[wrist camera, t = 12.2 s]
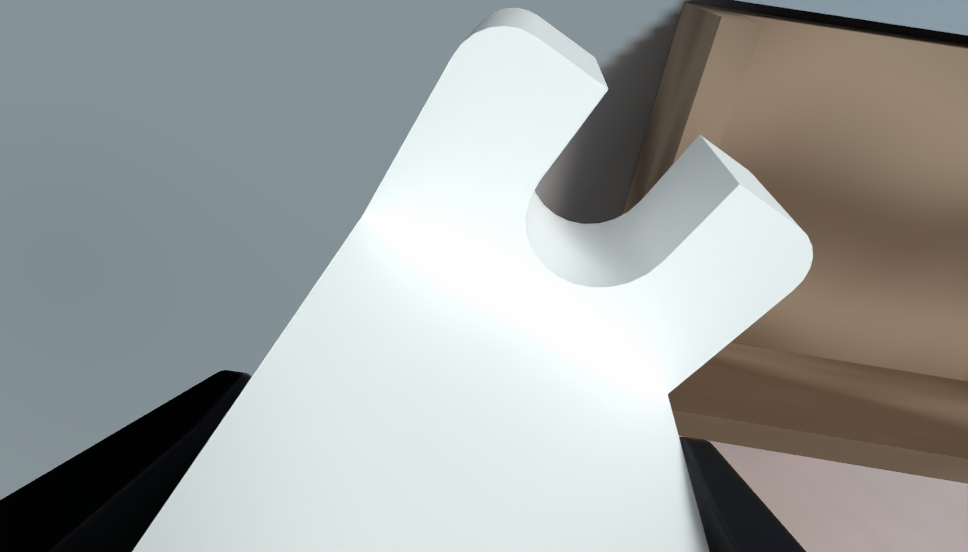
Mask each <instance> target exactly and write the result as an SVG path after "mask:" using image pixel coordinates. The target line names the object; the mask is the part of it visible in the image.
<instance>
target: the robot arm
mask: <svg viewBox="0 0 968 552" xmlns="http://www.w3.org/2000/svg"><path fill="white" fill-rule="evenodd" d="M250 379H251V376H250V375H249V374H247V373H242V372H234V371H228V370H224V371H220V372H218V373H216V374H214V375H212V376H211V377H209V378H207V379H206V380H204V381H202V382H201V383H199V384H197V385H195V386H194V387H192V388H190V389H189V390H187V391H185V392H184V393H182V394H180V395H179V396H177V397H175V398H173V399H172V400H170V401H168V402H167V403H165V404H163V405H161V406H160V407H158V408H156V409H155V410H153V411H151V412H149V413H148V414H146V415H144V416H143V417H141V418H139V419H138V420H136V421H134V422H132V423H131V424H129V425H127V426H126V427H124V428H122V429H121V430H119V431H117V432H115V433H114V434H112V435H110V436H109V437H107V438H105V439H104V440H102V441H100V442H99V443H97V444H95V445H93V446H92V447H90V448H89V449H87V450H85V451H83V452H81V453H80V454H78V455H76V456H75V457H73V458H71V459H70V460H68V461H66V462H64V463H63V464H61V465H59V466H58V467H56V468H54V469H53V470H51V471H49V472H47V473H46V474H44V475H42V476H41V477H39V478H37V479H36V480H34V481H32V482H30V483H29V484H27V485H25V486H24V487H22V488H20V489H19V490H17V491H15V492H14V493H12V494H10V495H9V496H7V497H5V498H3V499H2V500H0V552H132V551H133V550H134V548H135V547H136V545H137V544H138V542H139V541H140V539H141V538H142V537H143V535H144V534H145V532H146V531H147V529H148V528H149V526H150V525H151V523H152V522H153V520H154V519H155V518H156V516H157V515H158V513H159V512H160V510H161V509H162V507H163V506H164V504H165V503H166V502H167V500H168V499H169V497H170V496H171V494H172V493H173V491H174V490H175V488H176V487H177V485H178V484H179V483H180V481H181V480H182V478H183V477H184V475H185V474H186V472H187V471H188V469H189V468H190V466H191V465H192V464H193V462H194V461H195V459H196V458H197V456H198V455H199V453H200V452H201V450H202V449H203V448H204V446H205V445H206V443H207V442H208V440H209V439H210V437H211V436H212V434H213V433H214V431H215V430H216V429H217V427H218V426H219V424H220V423H221V421H222V420H223V418H224V417H225V415H226V414H227V413H228V411H229V410H230V408H231V407H232V405H233V404H234V402H235V401H236V399H237V398H238V396H239V395H240V394H241V392H242V391H243V389H244V388H245V386H246V385H247V383H248V382H249V380H250ZM679 439H680V443H681V446H682V450H683V454H684V458H685V461H686V465H687V469H688V473H689V476H690V480H691V484H692V488H693V491H694V495H695V499H696V503H697V506H698V510H699V514H700V517H701V521H702V525H703V529H704V532H705V536H706V540H707V544H708V547H709V551H710V552H806V551H805V550H804V549H803V548H802V546H801V545H800V544H799V543H798V542H797V541H796V540H795V538H794V537H793V536H792V535H791V534H790V533H789V532H788V530H787V529H786V528H785V527H784V526H783V525H782V524H781V522H780V521H779V520H778V519H777V518H776V517H775V516H774V514H773V513H772V512H771V511H770V510H769V509H768V508H767V506H766V505H765V504H764V503H763V502H762V501H761V500H760V498H759V497H758V496H757V495H756V494H755V493H754V492H753V490H752V489H751V488H750V487H749V486H748V485H747V484H746V482H745V481H744V480H743V479H742V478H741V477H740V476H739V474H738V473H737V472H736V471H735V470H734V469H733V468H732V466H731V465H730V464H729V463H728V462H727V461H726V460H725V458H724V457H723V456H722V455H721V454H720V453H719V452H718V450H717V449H716V448H715V447H714V446H713V445H712V444H711V443H710V442H708V441H707V440H704V439H697V438H690V437H680V438H679Z"/></svg>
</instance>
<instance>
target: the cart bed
mask: <svg viewBox="0 0 968 552" xmlns="http://www.w3.org/2000/svg"><path fill="white" fill-rule="evenodd" d="M699 135H701V136H703V137H704V138H705V139H707V140H708V141H709V142H711V143H712V144H713V145H715V146H716V147H717V148H719V149H720V150H722V151H723V152H724V153H726V154H727V155H728V156H730V157H731V158H732V159H734V160H735V161H737V162H738V163H739V164H741V165H742V166H743V167H745V168H746V169H747V170H749V171H750V172H751V173H752V174H753V175H754V176H755V178H756V179H757V180H758V181H759V182H760V183H761V184H762V185H763V186H764V188H765V189H766V190H767V191H768V192H769V193H770V194H771V195H772V197H773V198H774V199H775V200H776V201H777V202H778V203H779V204H780V205H781V207H782V208H783V209H784V210H785V211H786V212H787V213H788V214H789V215H790V217H791V218H792V219H793V220H794V221H795V222H796V223H797V224H798V226H799V227H800V228H801V229H802V230H803V231H804V232H805V233H806V234H807V236H808V238H809V240H810V242H811V244H812V250H813V259H812V263H811V267H810V270H809V271H808V273H807V275H806V276H805V278H804V280H803V281H802V282H801V283H800V284H799V285H798V286H797V287H796V288H795V289H794V290H793V291H792V292H791V293H789V294H788V295H787V296H786V297H785V298H783V299H782V300H781V301H780V302H779V303H777V304H776V305H775V306H774V307H772V308H771V309H770V310H769V311H768V312H766V313H765V314H764V315H763V316H762V317H760V318H759V319H758V320H757V321H756V322H754V323H753V324H752V325H751V326H750V327H748V328H747V329H746V330H745V331H744V332H742V333H741V334H740V335H739V336H737V337H736V338H735V339H734V340H733V341H731V342H730V343H729V344H728V345H727V346H725V347H724V348H723V349H722V350H721V351H719V352H718V353H717V354H716V355H715V356H713V357H712V358H711V359H710V360H708V361H707V362H706V363H705V364H704V365H702V366H701V367H700V368H699V369H698V370H696V371H695V372H694V373H693V374H692V375H690V376H689V377H688V378H687V379H686V380H684V381H683V382H682V383H681V384H679V385H678V386H677V387H676V388H675V389H673V390H672V391H671V392H670V393H669V394H668V398H669V402H670V405H671V409H672V413H673V417H674V420H675V424H676V428H677V432H678V435H680V436H686V437H692V438H698V439H704V440H710V441H716V442H722V443H728V444H734V445H740V446H746V447H752V448H758V449H764V450H770V451H776V452H782V453H788V454H794V455H800V456H806V457H812V458H818V459H824V460H830V461H836V462H842V463H848V464H854V465H860V466H866V467H872V468H878V469H884V470H890V471H896V472H902V473H908V474H914V475H920V476H926V477H932V478H938V479H944V480H950V481H956V482H962V483H968V45H966V44H959V43H952V42H946V41H939V40H933V39H926V38H919V37H913V36H906V35H900V34H893V33H886V32H880V31H873V30H867V29H860V28H853V27H847V26H840V25H833V24H827V23H820V22H814V21H807V20H800V19H794V18H787V17H781V16H774V15H767V14H761V13H754V12H748V11H741V10H734V9H728V8H721V7H715V6H708V5H701V4H695V3H688V2H684V4H683V7H682V11H681V14H680V18H679V21H678V24H677V28H676V31H675V35H674V38H673V42H672V45H671V48H670V52H669V55H668V59H667V62H666V65H665V69H664V72H663V76H662V79H661V83H660V86H659V89H658V93H657V96H656V100H655V103H654V106H653V110H652V113H651V117H650V120H649V123H648V127H647V130H646V134H645V137H644V141H643V144H642V147H641V151H640V154H639V158H638V161H637V164H636V168H635V171H634V175H633V178H632V182H631V185H630V188H629V192H628V195H627V199H626V202H625V205H624V209H623V212H622V215H623V214H625V213H627V212H629V211H630V210H631V209H632V208H633V207H634V206H635V205H636V204H638V203H639V202H640V201H641V200H642V199H643V198H644V196H645V195H646V194H647V193H648V192H649V191H650V190H651V189H652V188H653V186H654V185H655V184H656V183H657V182H658V181H659V180H660V179H661V177H662V176H663V175H664V174H665V173H666V172H667V171H668V170H669V168H670V167H671V166H672V165H673V164H674V163H675V162H676V161H677V159H678V158H679V157H680V156H681V155H682V154H683V153H684V152H685V150H686V149H687V148H688V147H689V146H690V145H691V144H692V143H693V142H694V140H695V139H696V138H697V137H698V136H699Z"/></svg>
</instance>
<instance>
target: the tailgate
mask: <svg viewBox="0 0 968 552" xmlns="http://www.w3.org/2000/svg"><path fill="white" fill-rule="evenodd" d="M736 1H743V2H749V3H756V4H763V5H769V6H776V7H783V8H789V9H796V10H802V11H809V12H816V13H822V14H829V15H836V16H842V17H849V18H855V19H862V20H869V21H875V22H882V23H888V24H895V25H902V26H908V27H915V28H922V29H928V30H935V31H941V32H948V33H955V34H961V35H968V0H736Z"/></svg>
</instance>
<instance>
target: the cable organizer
mask: <svg viewBox="0 0 968 552" xmlns="http://www.w3.org/2000/svg"><path fill="white" fill-rule="evenodd" d="M607 91H608V87H607V84H606V82H605V80H604V77H603V75H602V73H601V70H600V68H599V65H598V63H597V61H596V58H595V57H594V56H592V55H591V54H589V53H588V52H587V51H585V50H584V49H583V48H581V47H580V46H579V45H577V44H576V43H574V42H573V41H572V40H570V39H569V38H568V37H566V36H565V35H563V34H562V33H561V32H560V31H558V30H557V29H555V28H554V27H553V26H551V25H550V24H549V23H547V22H546V21H544V20H543V19H542V18H540V17H539V16H537V15H536V14H534V13H532V12H530V11H528V10H524V9H519V8H507V9H501V10H499V11H496V12H494V13H491V14H490V15H489V16H488V17H486V18H485V19H484V20H482V21H481V22H480V23H479V24H478V25H477V27H476V28H475V29H474V30H473V31H472V32H471V33H470V35H469V36H468V37H467V38H466V39H465V40H464V41H463V43H462V44H461V45H460V47H459V48H458V49H457V51H456V52H455V53H454V55H453V56H452V58H451V60H450V61H449V63H448V65H447V67H446V69H445V70H444V72H443V74H442V76H441V77H440V79H439V81H438V83H437V84H436V86H435V88H434V90H433V92H432V93H431V95H430V97H429V99H428V101H427V102H426V104H425V106H424V107H423V109H422V111H421V113H420V115H419V116H418V118H417V120H416V122H415V123H414V125H413V127H412V129H411V131H410V132H409V134H408V136H407V138H406V139H405V141H404V143H403V145H402V147H401V148H400V150H399V152H398V154H397V155H396V157H395V159H394V161H393V162H392V164H391V166H390V168H389V170H388V171H387V173H386V175H385V177H384V179H383V180H382V182H381V184H380V186H379V187H378V189H377V191H376V193H375V194H374V196H373V198H372V200H371V201H370V203H369V205H368V207H367V209H366V210H365V212H364V214H363V216H362V217H361V219H360V220H359V221H358V223H357V224H356V226H355V227H354V229H353V230H352V232H351V233H350V234H349V236H348V237H347V239H346V240H345V242H344V243H343V245H342V246H341V248H340V249H339V251H338V252H337V253H336V255H335V256H334V258H333V259H332V261H331V262H330V264H329V265H328V267H327V268H326V269H325V271H324V272H323V274H322V276H321V277H320V278H319V280H318V281H317V283H316V284H315V286H314V287H313V288H312V290H311V291H310V293H309V294H308V296H307V297H306V299H305V300H304V302H303V303H302V305H301V306H300V307H299V309H298V311H297V312H296V313H295V315H294V316H293V318H292V319H291V321H290V322H289V323H288V325H287V326H286V328H285V329H284V331H283V332H282V334H281V335H280V337H279V338H278V340H277V341H276V342H275V344H274V345H273V347H272V348H271V350H270V352H269V353H268V354H267V356H266V357H265V359H264V360H263V361H262V363H261V364H260V366H259V367H258V369H257V370H256V372H255V373H254V375H253V376H252V377H251V379H250V380H249V382H248V383H247V385H246V386H245V388H244V389H243V391H242V392H241V394H240V395H239V396H238V398H237V399H236V401H235V402H234V404H233V405H232V407H231V408H230V410H229V411H228V413H227V414H226V415H225V417H224V418H223V420H222V421H221V423H220V424H219V426H218V427H217V429H216V430H215V431H214V433H213V434H212V436H211V437H210V439H209V440H208V442H207V443H206V445H205V446H204V448H203V449H202V450H201V452H200V453H199V455H198V456H197V458H196V459H195V461H194V462H193V464H192V465H191V466H190V468H189V469H188V471H187V472H186V474H185V475H184V477H183V478H182V480H181V481H180V483H179V484H178V485H177V487H176V488H175V490H174V491H173V493H172V494H171V496H170V497H169V499H168V500H167V502H166V503H165V504H164V506H163V507H162V509H161V510H160V512H159V513H158V515H157V516H156V518H155V519H154V520H153V522H152V523H151V525H150V526H149V528H148V529H147V531H146V532H145V534H144V535H143V537H142V538H141V539H140V541H139V542H138V544H137V545H136V547H135V548H134V550H133V551H132V552H710V551H709V547H708V544H707V540H706V536H705V532H704V529H703V525H702V521H701V517H700V514H699V510H698V506H697V503H696V499H695V495H694V491H693V488H692V484H691V480H690V476H689V473H688V469H687V465H686V461H685V458H684V454H683V450H682V446H681V443H680V439H679V435H678V432H677V428H676V424H675V420H674V417H673V413H672V409H671V405H670V402H669V398H668V394H669V393H670V392H671V391H672V390H673V389H675V388H676V387H677V386H678V385H679V384H681V383H682V382H683V381H684V380H686V379H687V378H688V377H689V376H690V375H692V374H693V373H694V372H695V371H696V370H698V369H699V368H700V367H701V366H702V365H704V364H705V363H706V362H707V361H708V360H710V359H711V358H712V357H713V356H715V355H716V354H717V353H718V352H719V351H721V350H722V349H723V348H724V347H725V346H727V345H728V344H729V343H730V342H731V341H733V340H734V339H735V338H736V337H737V336H739V335H740V334H741V333H742V332H744V331H745V330H746V329H747V328H748V327H750V326H751V325H752V324H753V323H754V322H756V321H757V320H758V319H759V318H760V317H762V316H763V315H764V314H765V313H766V312H768V311H769V310H770V309H771V308H772V307H774V306H775V305H776V304H777V303H779V302H780V301H781V300H782V299H783V298H785V297H786V296H787V295H788V294H789V293H791V292H792V291H793V290H794V289H795V288H796V287H797V286H798V285H799V284H800V283H801V282H802V281H803V280H804V278H805V276H806V275H807V273H808V271H809V270H810V267H811V263H812V259H813V250H812V244H811V242H810V240H809V238H808V236H807V234H806V233H805V232H804V231H803V230H802V229H801V228H800V227H799V226H798V224H797V223H796V222H795V221H794V220H793V219H792V218H791V217H790V215H789V214H788V213H787V212H786V211H785V210H784V209H783V208H782V207H781V205H780V204H779V203H778V202H777V201H776V200H775V199H774V198H773V197H772V195H771V194H770V193H769V192H768V191H767V190H766V189H765V188H764V186H763V185H762V184H761V183H760V182H759V181H758V180H757V179H756V178H755V176H754V175H753V174H752V173H751V172H750V171H749V170H747V169H746V168H745V167H743V166H742V165H741V164H739V163H738V162H737V161H735V160H734V159H732V158H731V157H730V156H728V155H727V154H726V153H724V152H723V151H722V150H720V149H719V148H717V147H716V146H715V145H713V144H712V143H711V142H709V141H708V140H707V139H705V138H704V137H703V136H701V135H699V136H698V137H697V138H696V139H695V140H694V142H693V143H692V144H691V145H690V146H689V147H688V148H687V149H686V150H685V152H684V153H683V154H682V155H681V156H680V157H679V158H678V159H677V161H676V162H675V163H674V164H673V165H672V166H671V167H670V168H669V170H668V171H667V172H666V173H665V174H664V175H663V176H662V177H661V179H660V180H659V181H658V182H657V183H656V184H655V185H654V186H653V188H652V189H651V190H650V191H649V192H648V193H647V194H646V195H645V196H644V198H643V199H642V200H641V201H640V202H639V203H638V204H636V205H635V206H634V207H633V208H632V209H631V210H630V211H629V212H627V213H625V214H623V215H621V216H619V217H617V218H616V219H613V220H609V221H606V222H602V223H594V224H582V223H577V222H572V221H568V220H566V219H564V218H561V217H559V216H557V215H555V214H554V213H553V212H552V211H550V210H549V209H548V208H547V207H546V206H544V205H543V203H542V202H541V200H540V199H539V197H538V196H537V194H536V193H535V188H536V187H537V185H538V183H539V181H540V180H541V179H542V177H543V176H544V175H545V173H546V172H547V171H548V169H549V168H550V167H551V165H552V164H553V163H554V161H555V160H556V159H557V157H558V156H559V155H560V153H561V152H562V151H563V149H564V148H565V147H566V145H567V144H568V143H569V141H570V140H571V139H572V137H573V136H574V135H575V133H576V132H577V131H578V129H579V128H580V127H581V125H582V124H583V123H584V121H585V120H586V119H587V117H588V116H589V115H590V113H591V112H592V111H593V109H594V108H595V107H596V105H597V104H598V103H599V101H600V100H601V99H602V97H603V96H604V95H605V93H606V92H607Z"/></svg>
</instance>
